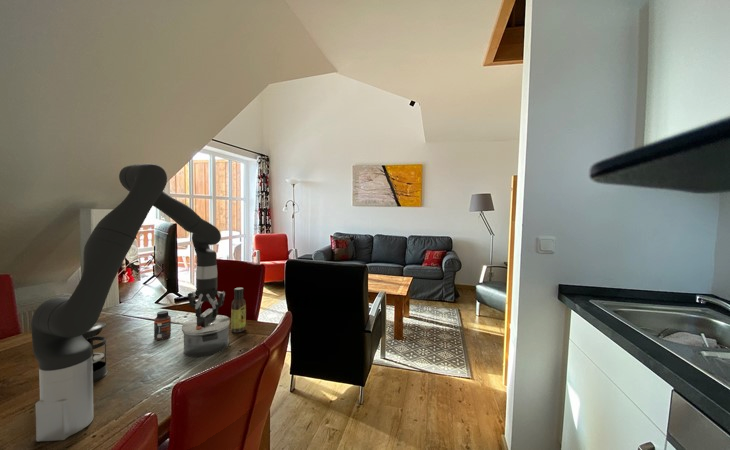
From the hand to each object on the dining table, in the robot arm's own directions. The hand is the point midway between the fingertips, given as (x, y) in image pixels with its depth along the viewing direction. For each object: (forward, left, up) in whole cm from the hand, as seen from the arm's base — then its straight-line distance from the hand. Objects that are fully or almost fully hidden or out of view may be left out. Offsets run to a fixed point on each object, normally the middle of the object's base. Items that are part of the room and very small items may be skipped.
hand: (206, 317), depth 114 cm
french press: (-20, +29, -13) cm, 37 cm away
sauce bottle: (+16, -7, -13) cm, 22 cm away
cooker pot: (0, 0, -12) cm, 12 cm away
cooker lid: (0, 0, -3) cm, 3 cm away
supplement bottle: (+10, +23, -13) cm, 28 cm away
